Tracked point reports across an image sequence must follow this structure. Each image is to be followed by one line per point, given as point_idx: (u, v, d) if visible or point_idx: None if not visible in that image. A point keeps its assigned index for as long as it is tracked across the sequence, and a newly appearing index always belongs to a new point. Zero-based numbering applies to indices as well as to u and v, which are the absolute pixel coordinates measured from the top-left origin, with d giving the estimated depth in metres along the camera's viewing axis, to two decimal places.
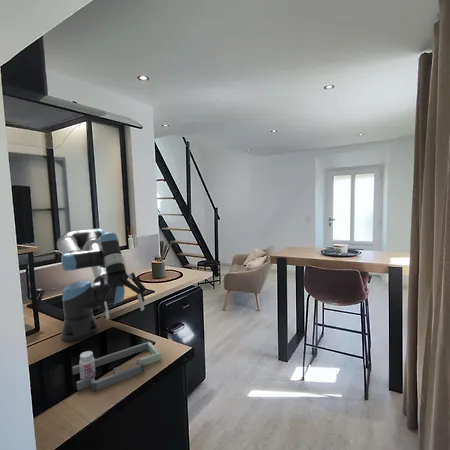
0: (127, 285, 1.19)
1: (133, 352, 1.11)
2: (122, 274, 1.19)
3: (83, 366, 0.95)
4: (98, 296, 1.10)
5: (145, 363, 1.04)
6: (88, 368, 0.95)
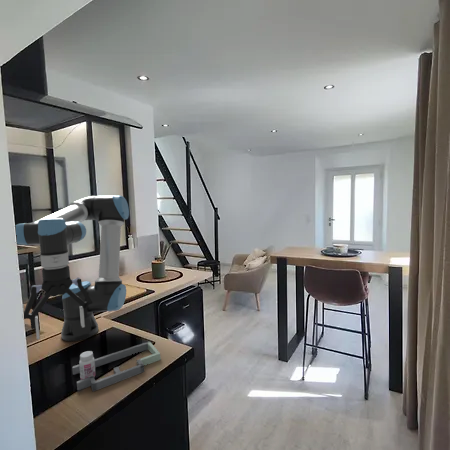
0: None
1: (133, 352, 1.11)
2: (64, 280, 0.91)
3: (83, 366, 0.95)
4: (27, 312, 0.85)
5: (145, 363, 1.04)
6: (88, 368, 0.95)
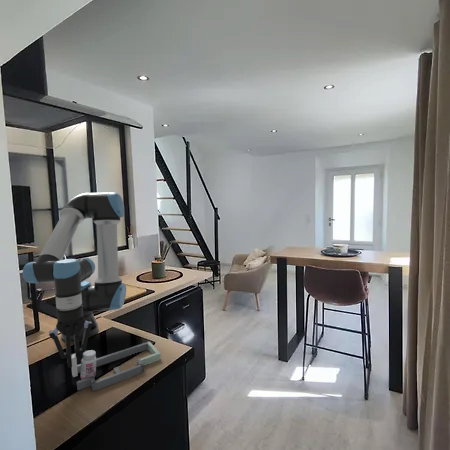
0: (74, 335, 0.94)
1: (133, 352, 1.11)
2: (80, 318, 0.94)
3: (85, 364, 0.95)
4: (61, 353, 0.91)
5: (145, 363, 1.04)
6: (90, 367, 0.96)
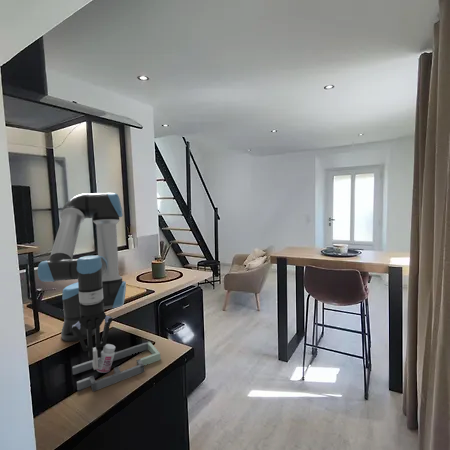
0: (95, 329, 0.98)
1: (133, 352, 1.11)
2: (101, 312, 0.98)
3: (104, 357, 0.98)
4: (83, 346, 0.95)
5: (145, 363, 1.04)
6: (108, 360, 0.99)
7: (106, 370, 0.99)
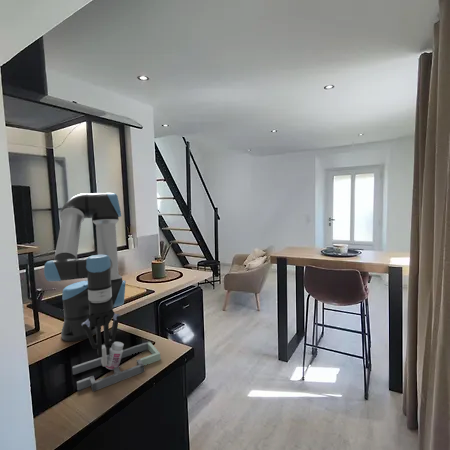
0: (104, 327, 0.99)
1: (133, 352, 1.11)
2: (110, 310, 0.99)
3: (113, 354, 1.00)
4: (93, 343, 0.96)
5: (145, 363, 1.04)
6: (117, 358, 1.01)
7: (115, 367, 1.00)
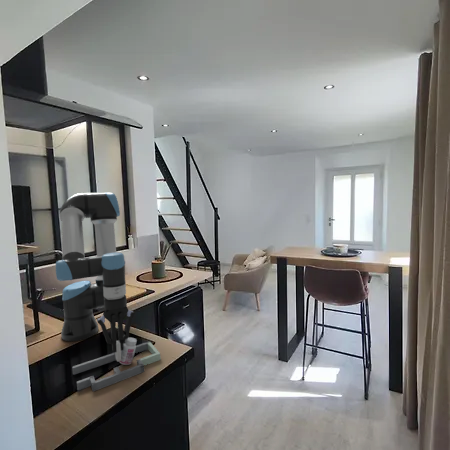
0: (118, 323, 1.02)
1: None
2: (124, 307, 1.02)
3: (127, 349, 1.03)
4: (108, 338, 0.99)
5: (145, 363, 1.04)
6: (131, 353, 1.03)
7: (129, 362, 1.03)
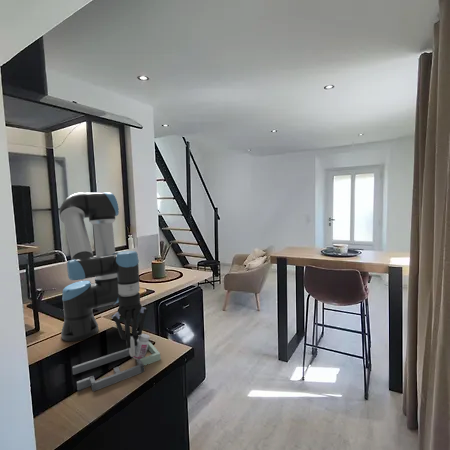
0: (132, 319, 1.05)
1: None
2: (138, 303, 1.05)
3: (141, 345, 1.06)
4: (122, 334, 1.02)
5: (145, 363, 1.04)
6: (144, 348, 1.06)
7: (142, 357, 1.06)
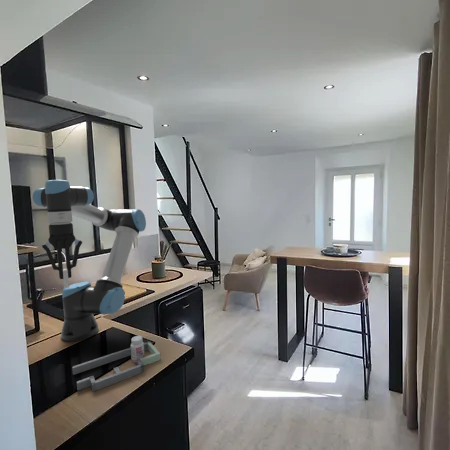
0: (65, 250, 1.03)
1: None
2: (71, 234, 1.03)
3: (135, 348, 1.05)
4: (53, 264, 1.00)
5: (145, 363, 1.04)
6: (140, 350, 1.05)
7: None
